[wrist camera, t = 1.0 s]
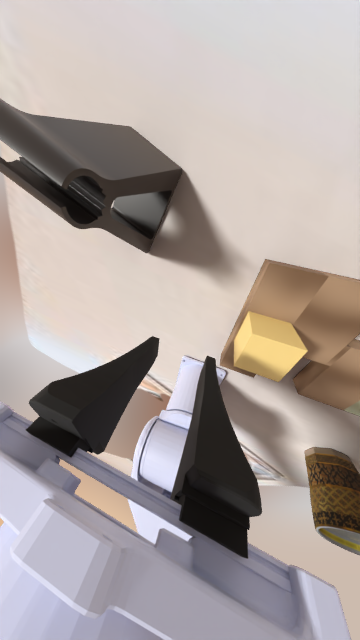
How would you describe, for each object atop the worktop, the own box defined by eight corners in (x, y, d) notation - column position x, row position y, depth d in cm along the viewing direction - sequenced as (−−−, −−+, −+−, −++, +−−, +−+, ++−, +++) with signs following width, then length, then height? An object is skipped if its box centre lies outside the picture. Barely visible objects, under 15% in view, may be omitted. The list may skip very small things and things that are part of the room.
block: (270, 352, 18) (278, 382, 15) (234, 340, 19) (233, 366, 15) (291, 323, 16) (307, 350, 12) (248, 311, 16) (252, 333, 13)
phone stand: (147, 253, 19) (58, 274, 10) (110, 224, 19) (-21, 216, 9) (183, 170, 14) (67, 32, 4) (133, 128, 14) (-113, -121, 4)
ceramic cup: (301, 465, 32) (323, 543, 24) (287, 439, 29) (307, 518, 21) (391, 477, 26) (463, 591, 18) (384, 446, 23) (467, 565, 15)
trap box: (361, 403, 20) (387, 440, 17) (221, 354, 24) (218, 375, 20) (515, 314, 12) (634, 349, 8) (265, 259, 16) (274, 267, 12)
